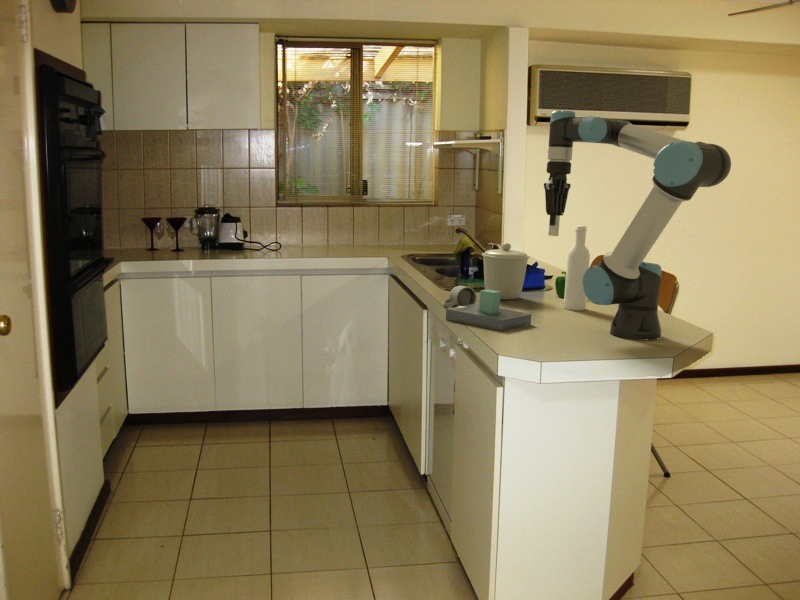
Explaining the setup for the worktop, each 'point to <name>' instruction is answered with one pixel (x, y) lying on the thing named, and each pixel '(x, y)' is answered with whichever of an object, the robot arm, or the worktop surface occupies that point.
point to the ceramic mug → (461, 297)
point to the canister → (505, 271)
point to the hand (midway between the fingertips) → (553, 235)
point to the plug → (489, 301)
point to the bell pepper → (560, 285)
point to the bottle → (576, 272)
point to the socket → (488, 317)
